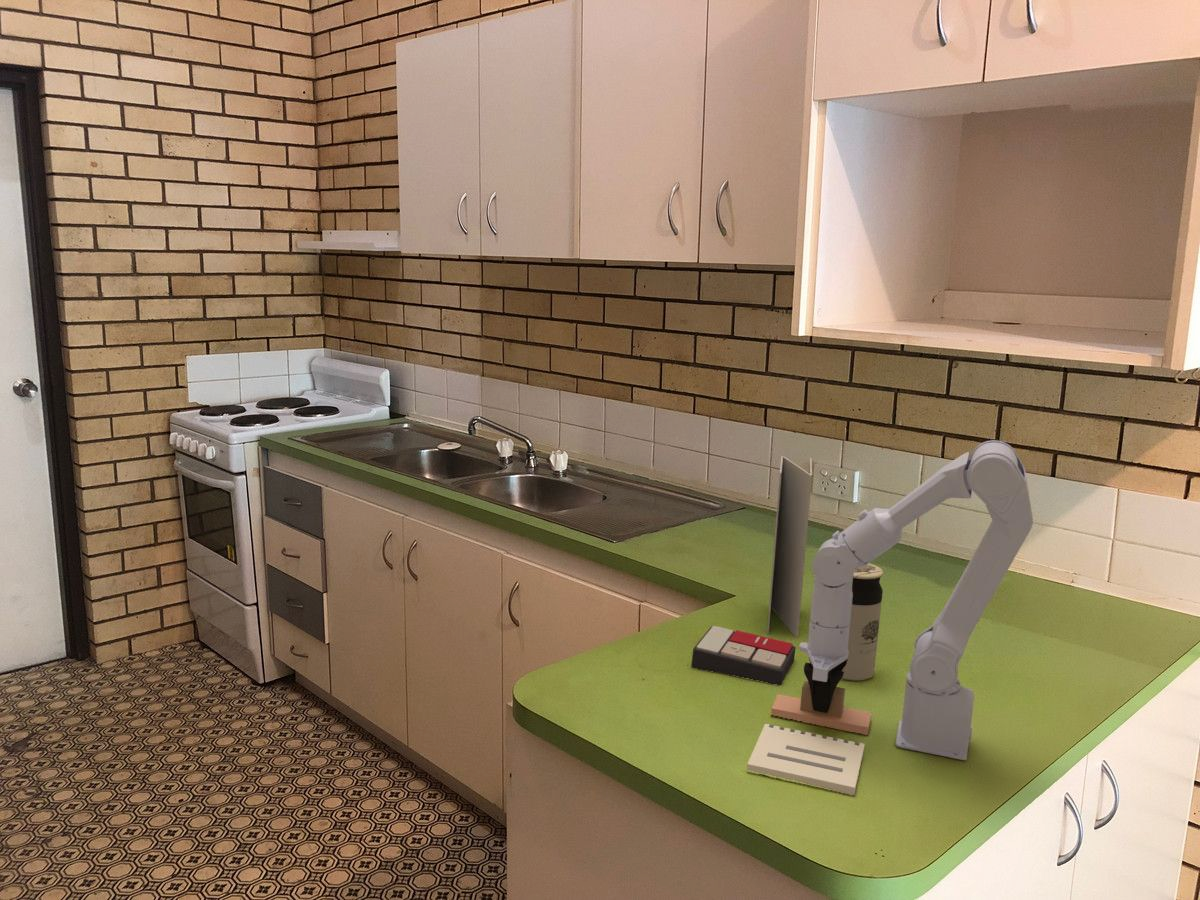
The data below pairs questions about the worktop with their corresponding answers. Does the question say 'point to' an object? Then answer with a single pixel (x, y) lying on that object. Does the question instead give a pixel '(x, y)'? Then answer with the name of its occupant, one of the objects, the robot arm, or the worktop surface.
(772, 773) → the cream notepad
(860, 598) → the travel mug
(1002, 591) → the worktop surface
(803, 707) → the pink block with handle
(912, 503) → the robot arm
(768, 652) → the calculator
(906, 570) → the worktop surface
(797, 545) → the brochure
